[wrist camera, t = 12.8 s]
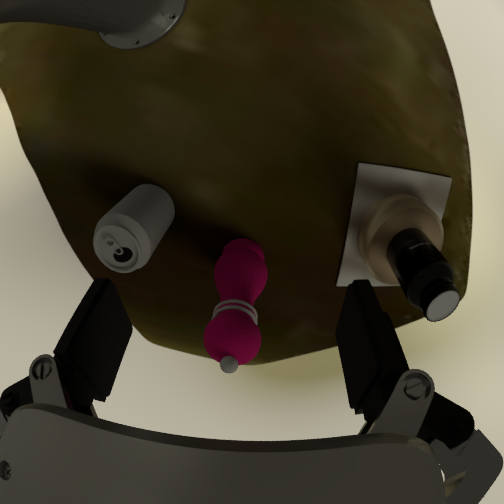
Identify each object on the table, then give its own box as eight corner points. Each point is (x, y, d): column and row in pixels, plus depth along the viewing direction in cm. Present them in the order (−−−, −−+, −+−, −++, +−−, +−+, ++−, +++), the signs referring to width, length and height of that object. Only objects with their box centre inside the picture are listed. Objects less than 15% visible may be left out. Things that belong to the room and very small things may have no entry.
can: (147, 236, 40) (114, 286, 30) (120, 196, 37) (76, 237, 27) (186, 216, 38) (158, 266, 28) (158, 172, 35) (118, 208, 25)
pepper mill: (270, 237, 39) (272, 354, 23) (264, 277, 43) (261, 392, 26) (220, 232, 39) (188, 344, 22) (218, 272, 43) (192, 384, 26)
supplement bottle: (411, 216, 31) (458, 270, 21) (433, 245, 33) (474, 300, 23) (375, 250, 34) (408, 313, 24) (399, 275, 36) (431, 336, 26)
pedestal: (358, 162, 33) (369, 172, 29) (450, 177, 32) (467, 188, 28) (336, 284, 43) (341, 303, 40) (417, 284, 43) (427, 300, 39)
